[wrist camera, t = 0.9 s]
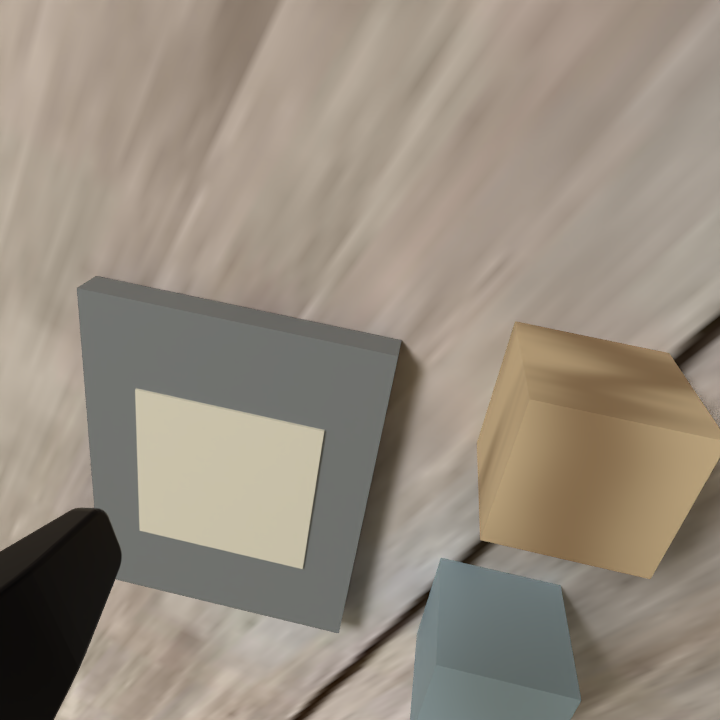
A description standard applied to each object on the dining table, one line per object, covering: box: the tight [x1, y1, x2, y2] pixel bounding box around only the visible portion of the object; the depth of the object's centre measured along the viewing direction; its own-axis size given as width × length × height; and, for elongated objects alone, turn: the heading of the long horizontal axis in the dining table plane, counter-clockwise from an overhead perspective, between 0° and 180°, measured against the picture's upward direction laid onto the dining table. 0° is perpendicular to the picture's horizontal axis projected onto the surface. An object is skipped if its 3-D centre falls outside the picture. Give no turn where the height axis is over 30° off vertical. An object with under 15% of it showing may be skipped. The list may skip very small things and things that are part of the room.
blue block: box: [410, 558, 581, 720], centre depth 24 cm, size 5×5×5 cm
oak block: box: [477, 322, 720, 579], centre depth 18 cm, size 5×5×5 cm
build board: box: [77, 276, 402, 633], centre depth 23 cm, size 11×14×1 cm
